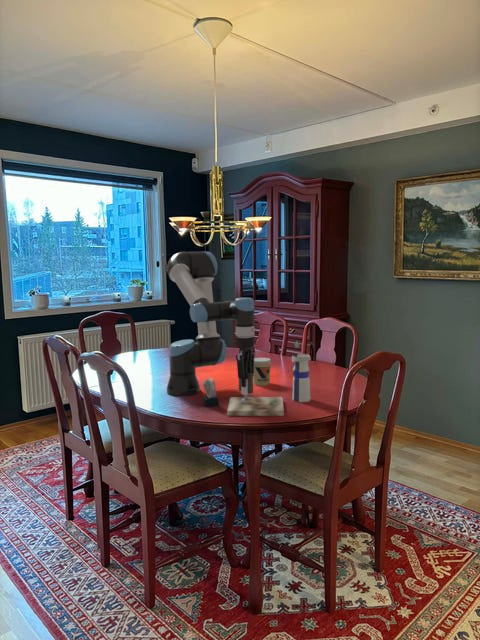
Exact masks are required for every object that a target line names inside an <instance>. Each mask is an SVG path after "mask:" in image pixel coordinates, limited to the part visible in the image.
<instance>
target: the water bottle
mask: <svg viewBox="0 0 480 640" xmlns="http://www.w3.org/2000/svg"><path fill="white" fill-rule="evenodd" d="M293 345H294V346H295V347H294V349H297V348H300V345H301V342H298V340H296V342H295V343H293ZM311 360H312V358H311V355H309V354H306V353H297V356H294V355H292V356H291V363H294V366H293V368H292V376H293V379H292V401H294V402H298V403H307V402H310V401H311V385H310V384H311V383H310V382H311V381H310V376H309V374H310V373H309V371H310V367H309V361H311Z"/></svg>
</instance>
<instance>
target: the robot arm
mask: <svg viewBox="0 0 480 640" xmlns="http://www.w3.org/2000/svg"><path fill="white" fill-rule="evenodd" d="M218 269H219V267H218V261H217V258H216V257H215V255H214V254H213V253H212V252H210V251H202V250H201V251H180V252H179V251H178V252H177V253H174V254H173V255H172V256H171V257H170V258H169V260H168V262H167V265H166V271H167V275H168V277H169V279H170V280H171V281H172V282H174V283H175V284H176V285H177V287H178V288H179V290H180V291H181V293H182V295H183V297H184V298H185V300H186V301H187V303H188V305H189V306H190V308H189V316H190V320H191V321H192V322H193V323H197V333H198V335H197V336H196V337H195V339H181V340H177V341H174V342H172V343H171V344H170V345H169V351H168V356H169V378H168V383H167V386H166V392H167V394H168V395H170V396H177V397H178V396H179V397H180V396H181V397H183V396H184V397H185V396H191V395H195V394H198V393H199V392H200V391H201V386H200V383H199V380H198V378H197V374H196V372H197V371H196V368H202V367H203V368H204V367H210V366H216V365H221V364H222V363H223V362H225V360H226V357H227V352H228V351H227V349H228V348H227V344H226V341H225V340H223V339H222V338H221V335H220V334H219V333H218V332H217V323H216V322H218V321H220V322H221V321H228V320H229V321H231V320H232V321H233V320H234V321H235V336H236V338H235V346H236V347H238V348H239V350H238V354H237V355H235V360H236V367H237V378H238V380H239V379H241V392H240V393H241V395H243V396H244V395H248V396H249V393H248V379H247V372H248V373H253V374H254V358H255V354H256V350H255V349H253V347H255V346H256V341H255V340H256V339H255V331H256V328H255V303H254V299H253V298H252V297H236V298H235V300H226V301H219V302H214V295H213V286H212V282H213V281H214V280H215V276H216V275H217V273H218ZM253 376H254V375H253Z"/></svg>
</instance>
